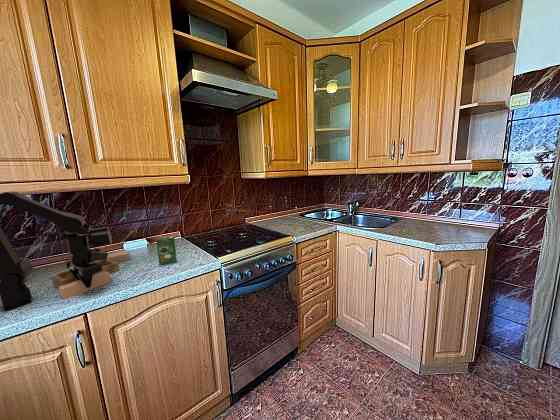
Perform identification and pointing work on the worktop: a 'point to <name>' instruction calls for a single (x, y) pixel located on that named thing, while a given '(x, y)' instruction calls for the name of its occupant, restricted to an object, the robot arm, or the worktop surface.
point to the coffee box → (166, 250)
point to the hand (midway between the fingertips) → (86, 286)
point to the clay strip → (79, 287)
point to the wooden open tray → (68, 278)
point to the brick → (119, 256)
